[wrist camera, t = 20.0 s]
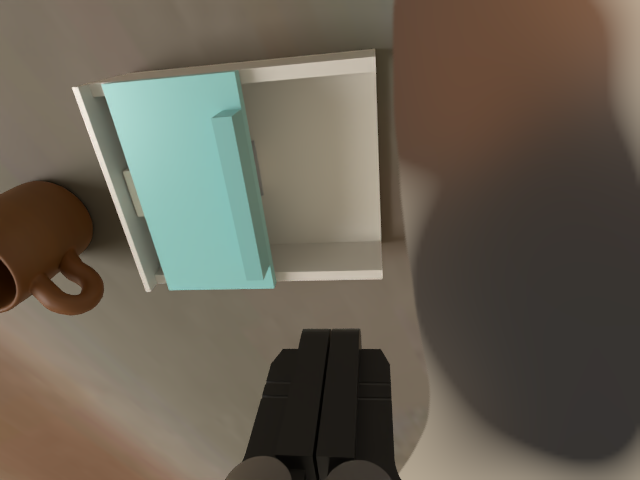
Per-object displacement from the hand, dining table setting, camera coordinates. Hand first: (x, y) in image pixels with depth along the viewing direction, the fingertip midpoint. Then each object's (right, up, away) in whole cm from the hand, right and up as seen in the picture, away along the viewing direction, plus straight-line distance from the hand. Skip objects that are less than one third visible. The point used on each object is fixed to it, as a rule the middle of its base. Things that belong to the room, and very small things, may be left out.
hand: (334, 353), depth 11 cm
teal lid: (-9, +6, +18) cm, 21 cm away
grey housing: (-5, +9, +22) cm, 24 cm away
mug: (-22, +4, +27) cm, 36 cm away
